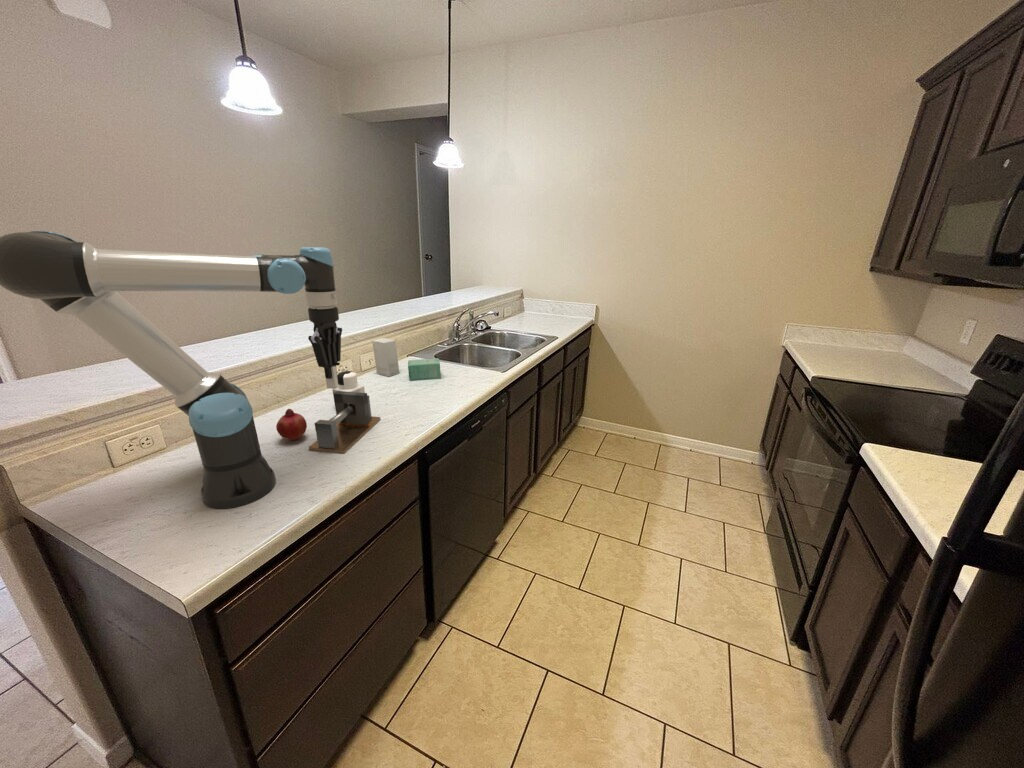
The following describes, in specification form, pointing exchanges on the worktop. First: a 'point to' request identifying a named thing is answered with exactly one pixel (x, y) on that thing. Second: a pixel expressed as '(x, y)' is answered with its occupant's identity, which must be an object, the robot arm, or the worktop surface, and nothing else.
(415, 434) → the worktop surface
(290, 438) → the fruit
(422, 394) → the worktop surface
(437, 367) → the box
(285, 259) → the robot arm
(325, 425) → the pipe rig
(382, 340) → the skincare box
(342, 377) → the container
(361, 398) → the collar
